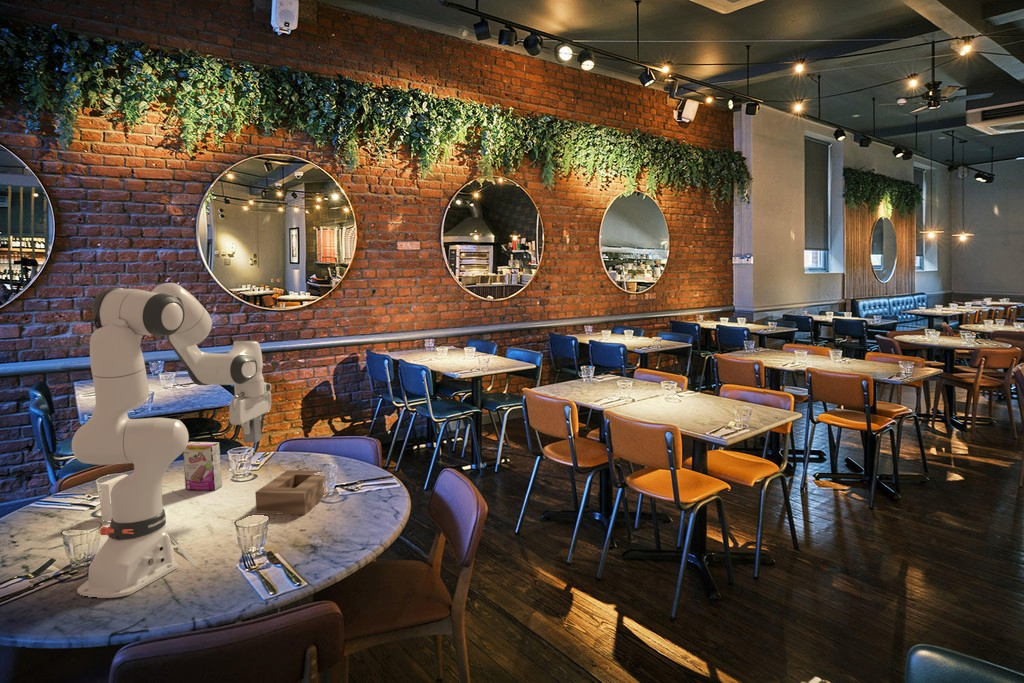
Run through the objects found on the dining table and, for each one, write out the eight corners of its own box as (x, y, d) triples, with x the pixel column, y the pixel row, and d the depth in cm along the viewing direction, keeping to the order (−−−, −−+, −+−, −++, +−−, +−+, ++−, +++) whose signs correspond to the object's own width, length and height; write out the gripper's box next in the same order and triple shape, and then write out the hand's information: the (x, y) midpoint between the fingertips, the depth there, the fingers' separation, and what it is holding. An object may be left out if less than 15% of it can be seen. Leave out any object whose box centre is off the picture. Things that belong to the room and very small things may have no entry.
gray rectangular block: (255, 442, 199) (253, 418, 198) (243, 442, 199) (242, 418, 198) (261, 439, 203) (260, 415, 202) (250, 439, 203) (248, 415, 202)
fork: (192, 570, 159) (192, 563, 159) (161, 543, 176) (160, 537, 176) (205, 565, 162) (205, 559, 161) (173, 539, 178) (173, 533, 178)
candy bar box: (184, 490, 218) (181, 445, 216) (193, 485, 223) (190, 441, 221) (215, 491, 217) (211, 445, 215) (223, 486, 222) (219, 441, 220)
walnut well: (305, 514, 194) (304, 493, 193) (256, 513, 196) (255, 492, 195) (332, 490, 216) (331, 470, 215) (288, 489, 217) (287, 469, 217)
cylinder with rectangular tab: (119, 522, 190) (116, 485, 189) (94, 521, 192) (91, 483, 191) (142, 511, 199) (139, 475, 198) (118, 510, 201) (115, 474, 199)
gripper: (241, 396, 189) (244, 440, 190) (273, 383, 209) (276, 423, 210) (222, 396, 189) (225, 440, 191) (255, 383, 209) (258, 423, 211)
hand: (252, 431), depth 201 cm, fingers closed on gray rectangular block, 4 cm apart
